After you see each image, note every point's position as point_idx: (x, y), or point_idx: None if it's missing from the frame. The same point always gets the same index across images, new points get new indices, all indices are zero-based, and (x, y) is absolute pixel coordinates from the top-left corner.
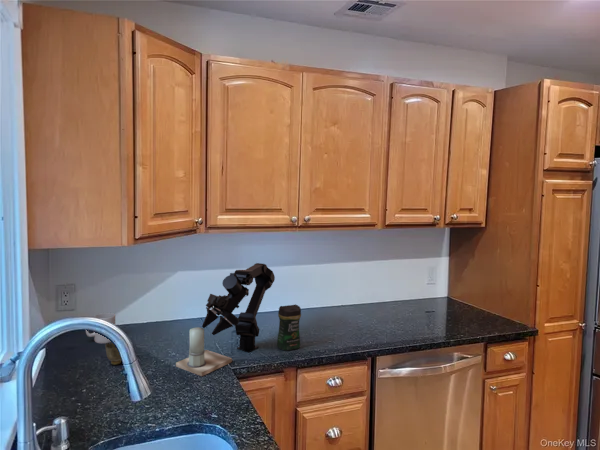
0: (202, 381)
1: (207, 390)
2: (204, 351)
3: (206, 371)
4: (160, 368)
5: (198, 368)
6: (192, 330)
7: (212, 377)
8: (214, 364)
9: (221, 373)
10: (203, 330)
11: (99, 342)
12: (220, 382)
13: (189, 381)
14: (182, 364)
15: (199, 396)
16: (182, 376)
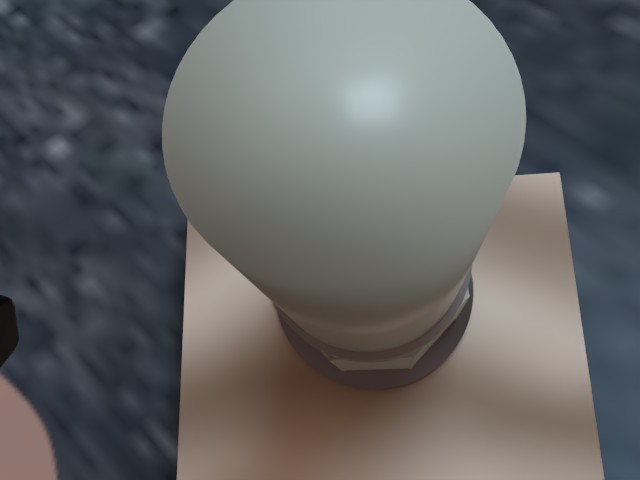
0: (134, 157)
1: (10, 94)
2: (284, 319)
3: (189, 255)
4: (617, 76)
5: None
6: (387, 25)
7: (115, 255)
8: (216, 400)
9: (100, 362)
10: (178, 192)
11: None
12: (4, 236)
13: None
14: None
15: (4, 12)
16: None
